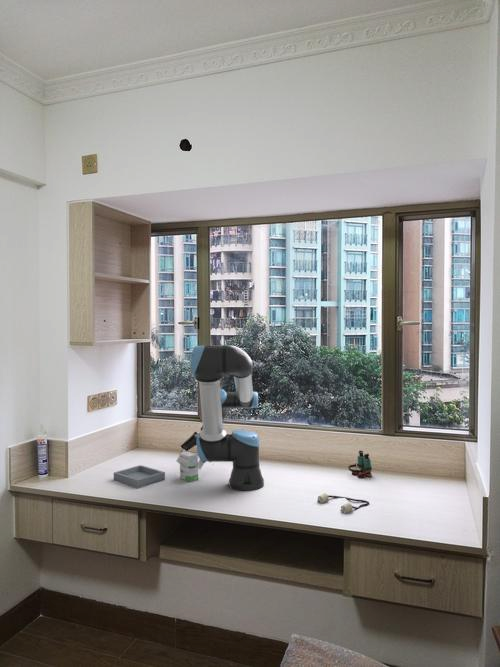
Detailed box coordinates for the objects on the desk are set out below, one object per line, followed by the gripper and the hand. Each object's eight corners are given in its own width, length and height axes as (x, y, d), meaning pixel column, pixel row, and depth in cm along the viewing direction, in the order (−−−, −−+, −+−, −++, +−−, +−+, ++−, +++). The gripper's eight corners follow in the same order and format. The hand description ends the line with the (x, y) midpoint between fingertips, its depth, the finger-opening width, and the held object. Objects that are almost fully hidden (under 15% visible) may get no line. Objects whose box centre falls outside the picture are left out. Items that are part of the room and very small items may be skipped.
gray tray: (164, 479, 237) (164, 472, 237) (137, 488, 226) (137, 480, 226) (140, 472, 249) (140, 465, 249) (113, 480, 238) (113, 472, 238)
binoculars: (344, 453, 240) (362, 449, 244) (346, 475, 241) (364, 471, 244) (355, 458, 232) (373, 453, 235) (357, 481, 232) (376, 476, 236)
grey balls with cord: (342, 494, 215) (342, 486, 215) (373, 506, 202) (373, 497, 202) (314, 503, 206) (314, 494, 206) (345, 515, 193) (345, 506, 193)
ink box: (199, 480, 236) (198, 454, 235) (189, 482, 233) (189, 456, 232) (188, 475, 243) (188, 450, 242) (179, 478, 239) (178, 452, 239)
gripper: (234, 434, 242) (211, 474, 232) (197, 427, 259) (174, 464, 248) (225, 425, 238) (202, 465, 227) (189, 418, 255) (165, 455, 244)
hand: (188, 465), depth 238 cm, fingers open, 13 cm apart
